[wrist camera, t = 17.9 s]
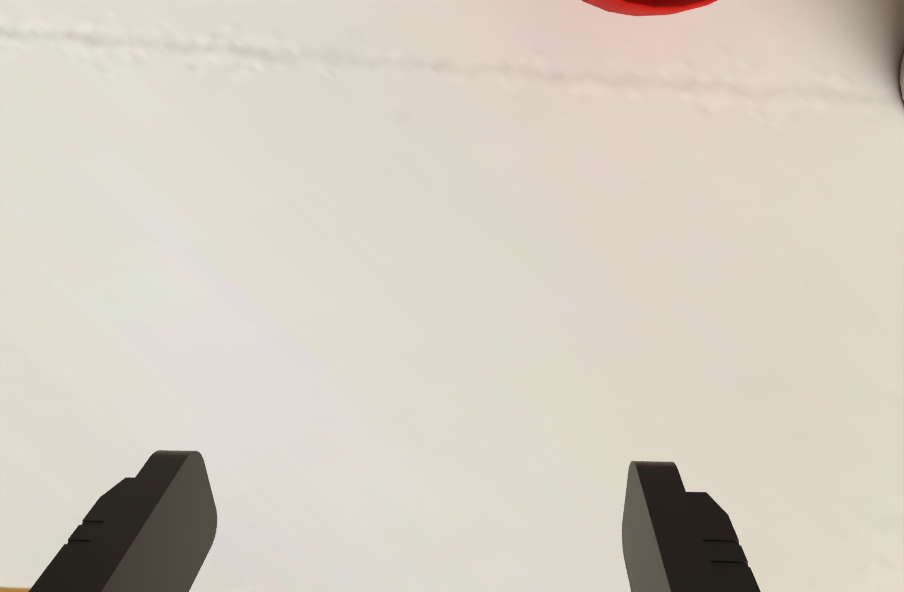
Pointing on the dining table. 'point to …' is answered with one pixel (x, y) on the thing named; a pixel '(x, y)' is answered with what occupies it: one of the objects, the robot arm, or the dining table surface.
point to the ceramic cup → (648, 6)
